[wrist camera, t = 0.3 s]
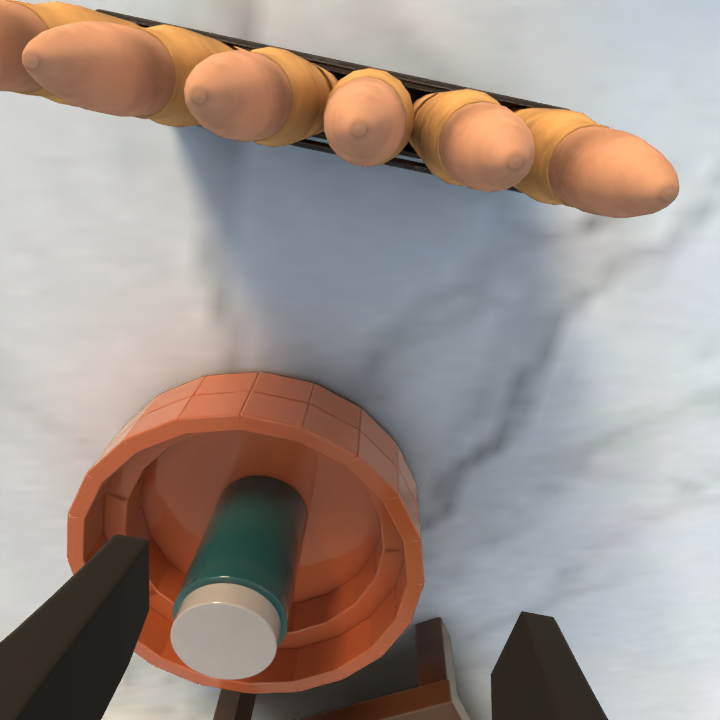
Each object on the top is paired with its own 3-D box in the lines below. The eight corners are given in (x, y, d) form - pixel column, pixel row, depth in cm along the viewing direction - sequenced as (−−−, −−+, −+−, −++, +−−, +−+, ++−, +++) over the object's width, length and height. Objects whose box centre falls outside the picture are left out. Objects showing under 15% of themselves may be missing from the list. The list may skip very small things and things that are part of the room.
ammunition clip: (530, 110, 17) (793, 121, 6) (511, 174, 18) (715, 289, 7) (165, 32, 17) (-258, -104, 6) (162, 102, 17) (-218, 100, 6)
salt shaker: (243, 560, 24) (201, 696, 18) (199, 492, 23) (139, 618, 17) (323, 533, 23) (304, 667, 18) (282, 462, 22) (247, 583, 16)
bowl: (207, 649, 27) (183, 724, 23) (48, 435, 22) (-8, 491, 19) (462, 573, 24) (473, 644, 21) (339, 316, 20) (330, 357, 17)
